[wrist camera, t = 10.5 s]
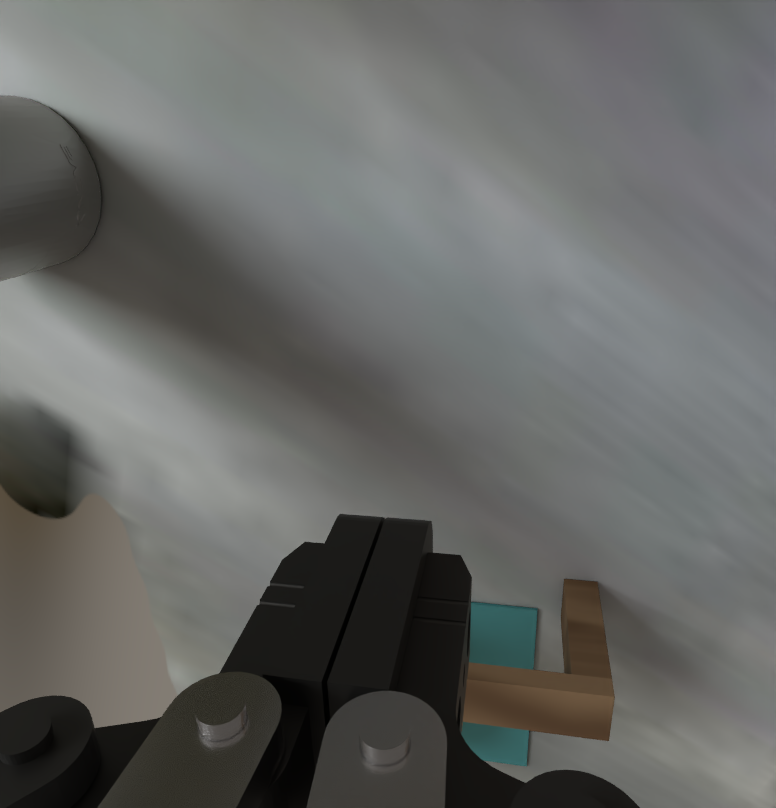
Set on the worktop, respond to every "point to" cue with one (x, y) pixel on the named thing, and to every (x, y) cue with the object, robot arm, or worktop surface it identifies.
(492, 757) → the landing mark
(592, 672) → the bridge
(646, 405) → the worktop surface
